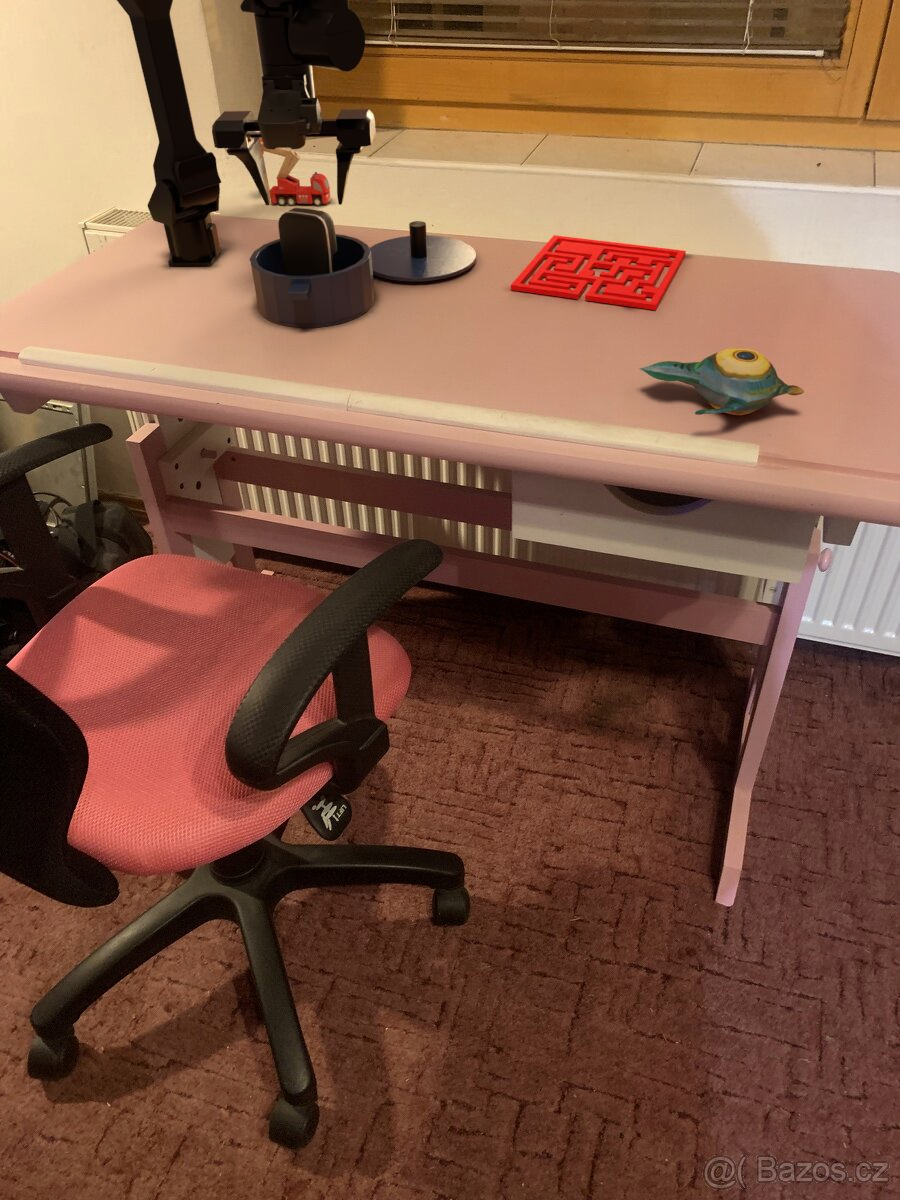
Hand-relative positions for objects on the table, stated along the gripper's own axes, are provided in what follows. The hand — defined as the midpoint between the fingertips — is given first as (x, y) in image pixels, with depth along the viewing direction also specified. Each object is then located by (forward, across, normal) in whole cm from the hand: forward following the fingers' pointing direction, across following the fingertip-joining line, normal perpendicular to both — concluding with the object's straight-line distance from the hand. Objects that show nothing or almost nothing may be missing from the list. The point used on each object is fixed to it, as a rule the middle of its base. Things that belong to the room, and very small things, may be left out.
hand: (304, 204), depth 111 cm
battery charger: (+12, 0, 0) cm, 13 cm away
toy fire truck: (+13, -11, +41) cm, 44 cm away
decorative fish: (+13, +48, -28) cm, 57 cm away
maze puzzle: (+13, +39, +10) cm, 42 cm away
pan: (+13, 0, 0) cm, 13 cm away
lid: (+12, +13, +14) cm, 23 cm away
